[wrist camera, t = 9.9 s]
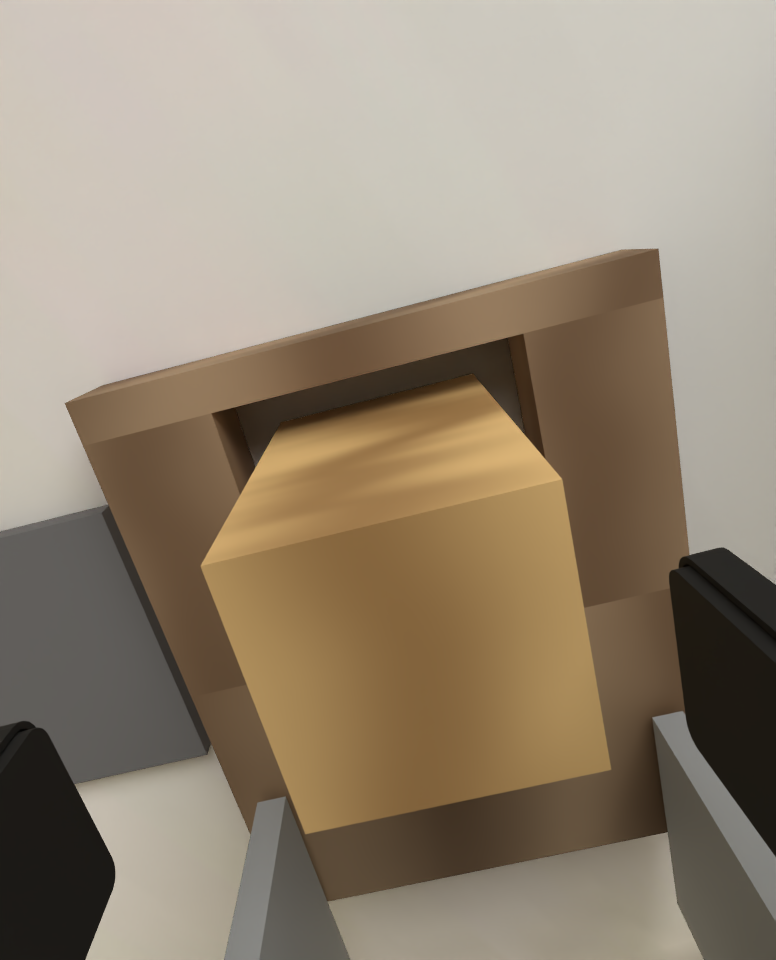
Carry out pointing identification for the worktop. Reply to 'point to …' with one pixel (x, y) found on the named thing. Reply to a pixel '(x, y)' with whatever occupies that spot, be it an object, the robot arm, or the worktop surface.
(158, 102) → the worktop surface
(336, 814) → the block
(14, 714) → the mat
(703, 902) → the cover
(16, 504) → the worktop surface
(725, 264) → the worktop surface
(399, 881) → the board
